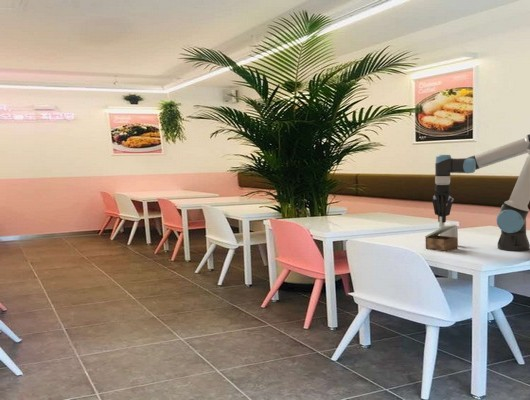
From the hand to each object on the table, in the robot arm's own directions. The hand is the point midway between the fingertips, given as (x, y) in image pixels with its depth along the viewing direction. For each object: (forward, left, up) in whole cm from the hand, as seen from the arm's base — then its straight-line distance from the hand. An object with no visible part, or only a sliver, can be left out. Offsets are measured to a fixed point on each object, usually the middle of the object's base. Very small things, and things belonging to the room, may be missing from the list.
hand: (441, 228), depth 268 cm
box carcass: (0, 0, -11) cm, 11 cm away
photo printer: (+4, -13, -11) cm, 17 cm away
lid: (+1, 0, -2) cm, 2 cm away
